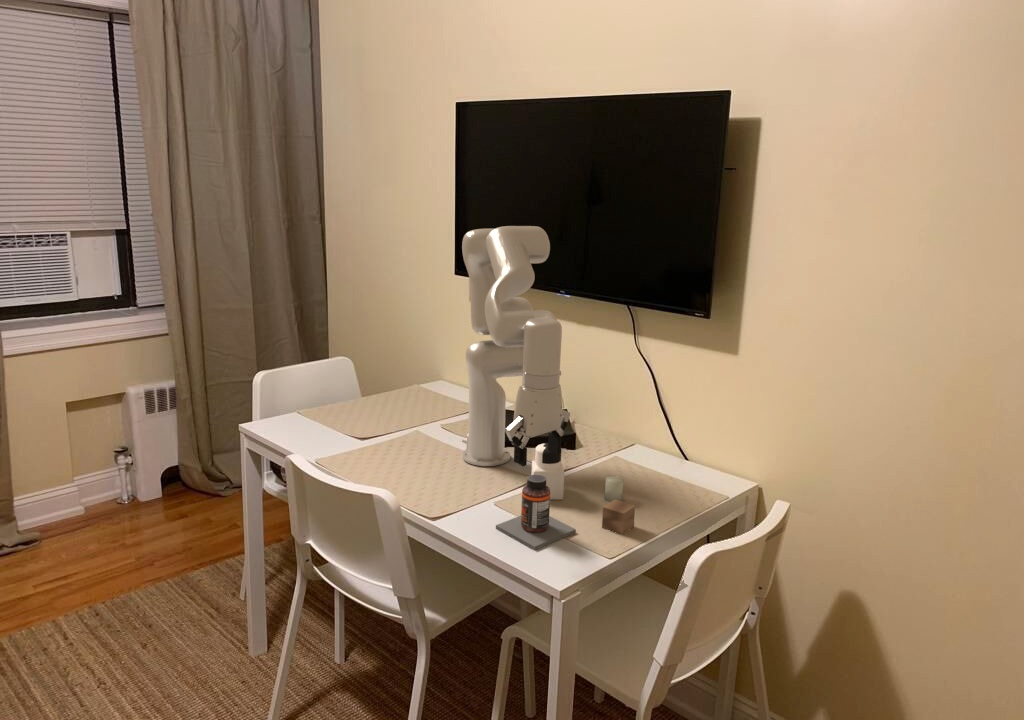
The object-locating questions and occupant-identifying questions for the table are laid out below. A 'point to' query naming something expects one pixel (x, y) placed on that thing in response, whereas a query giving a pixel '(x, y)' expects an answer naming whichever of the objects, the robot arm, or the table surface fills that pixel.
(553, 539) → the slate mat
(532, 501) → the supplement bottle
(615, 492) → the sage cylinder
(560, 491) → the medicine bottle
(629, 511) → the walnut block
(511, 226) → the robot arm
